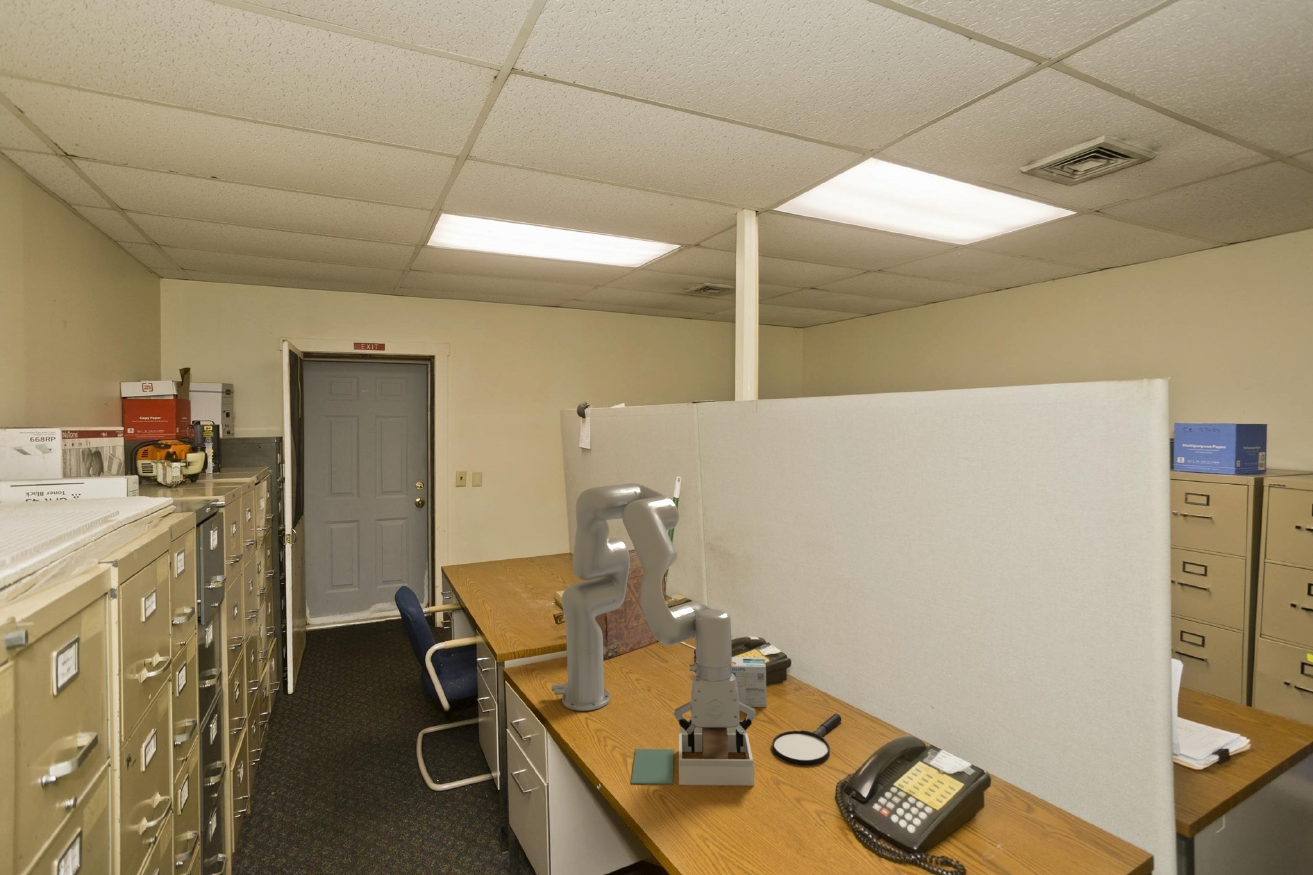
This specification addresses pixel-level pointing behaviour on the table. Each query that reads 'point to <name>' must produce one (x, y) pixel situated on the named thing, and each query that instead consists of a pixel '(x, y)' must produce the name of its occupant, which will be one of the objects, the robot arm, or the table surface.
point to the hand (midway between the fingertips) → (715, 749)
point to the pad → (653, 766)
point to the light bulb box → (750, 680)
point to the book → (628, 617)
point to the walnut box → (714, 743)
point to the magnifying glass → (805, 744)
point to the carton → (715, 763)
